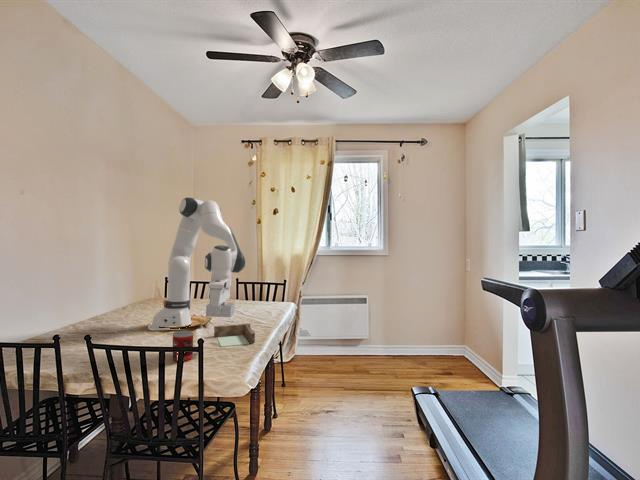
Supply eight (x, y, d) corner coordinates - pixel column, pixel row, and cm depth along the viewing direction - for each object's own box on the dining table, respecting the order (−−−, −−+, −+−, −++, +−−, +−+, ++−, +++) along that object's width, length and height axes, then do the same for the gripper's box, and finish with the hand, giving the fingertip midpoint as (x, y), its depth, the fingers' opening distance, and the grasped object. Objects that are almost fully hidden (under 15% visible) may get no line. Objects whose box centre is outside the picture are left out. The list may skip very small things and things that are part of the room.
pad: (221, 346, 168) (221, 346, 168) (217, 338, 180) (217, 337, 180) (249, 343, 173) (249, 343, 173) (243, 335, 186) (243, 335, 186)
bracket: (205, 316, 162) (206, 305, 162) (210, 313, 169) (211, 302, 169) (230, 317, 162) (230, 306, 162) (234, 314, 169) (234, 303, 169)
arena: (218, 347, 167) (219, 336, 167) (214, 336, 183) (214, 326, 183) (257, 343, 174) (257, 333, 174) (249, 332, 190) (249, 323, 190)
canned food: (175, 355, 155) (176, 330, 154) (194, 355, 155) (195, 330, 155) (169, 362, 147) (170, 335, 147) (190, 362, 148) (190, 335, 147)
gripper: (220, 278, 174) (219, 307, 174) (207, 285, 153) (206, 317, 154) (233, 278, 174) (232, 307, 174) (222, 285, 153) (221, 318, 154)
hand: (220, 312), depth 164 cm, fingers closed on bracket, 3 cm apart
